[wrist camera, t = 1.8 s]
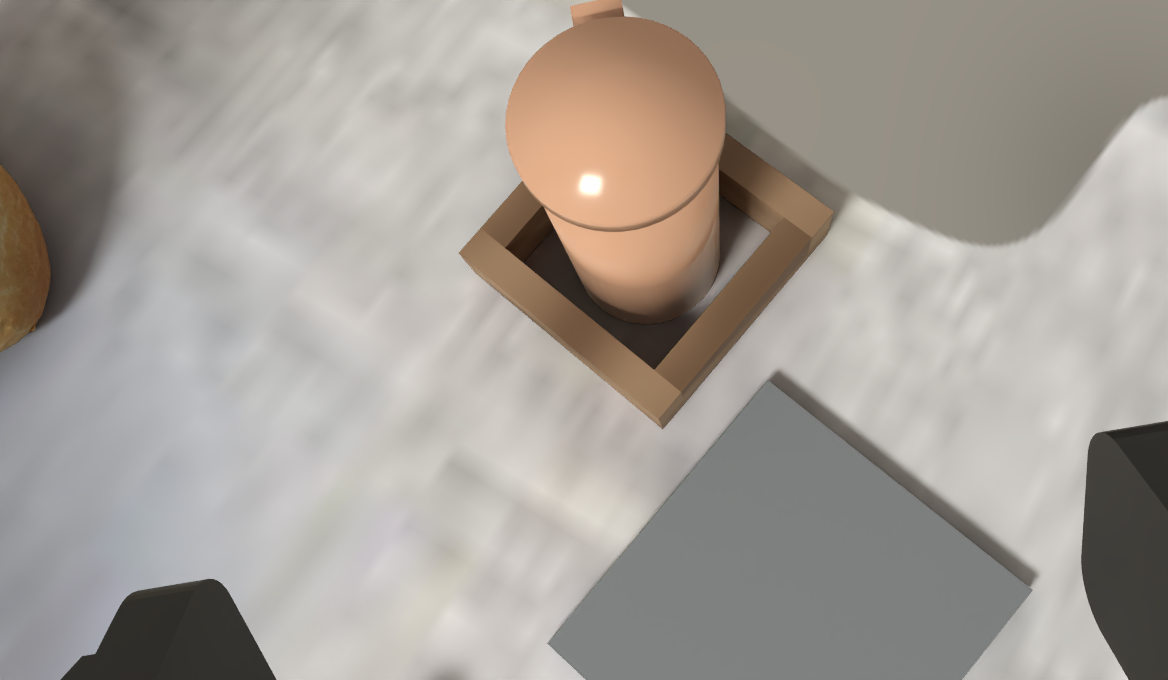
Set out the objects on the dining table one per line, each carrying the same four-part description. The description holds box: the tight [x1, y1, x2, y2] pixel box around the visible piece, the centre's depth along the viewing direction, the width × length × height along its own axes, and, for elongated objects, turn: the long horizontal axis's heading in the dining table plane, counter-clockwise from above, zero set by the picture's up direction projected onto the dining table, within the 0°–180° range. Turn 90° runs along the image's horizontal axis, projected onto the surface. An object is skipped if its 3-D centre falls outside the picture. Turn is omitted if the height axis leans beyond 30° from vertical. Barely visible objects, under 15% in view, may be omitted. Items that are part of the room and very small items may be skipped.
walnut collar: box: [459, 133, 834, 429], centre depth 37 cm, size 9×9×2 cm
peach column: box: [505, 0, 725, 324], centre depth 33 cm, size 8×6×12 cm
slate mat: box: [547, 381, 1033, 680], centre depth 34 cm, size 11×12×1 cm
